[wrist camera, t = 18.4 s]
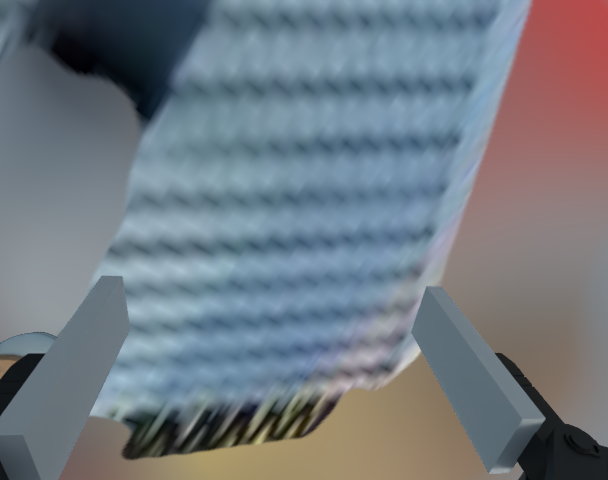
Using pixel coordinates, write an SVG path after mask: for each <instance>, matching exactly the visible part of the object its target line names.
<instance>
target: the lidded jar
mask: <svg viewBox="0 0 608 480" xmlns="http://www.w3.org/2000/svg"><path fill="white" fill-rule="evenodd" d="M56 339H57V337H55V336H53V335H51V334H48V333H44V332H33V333H27V334H21V335H17V336H14V337H12V338H9V339H7V340H5V341H3V342H2V343H0V379H1V378H2V376H3V375H4V374H5V373H6V371H7V370H8V369H9V368H10V366H12V365H13V364H14V363H16V362H17V361H18V360H20V359H21V358H23V357H24V356H25V355H27V354H28V353H46V352H47V351H48V350H49V348H50V347H51V346H52V344H53V343H54V341H55V340H56Z"/></svg>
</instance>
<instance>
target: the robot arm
mask: <svg viewBox="0 0 608 480" xmlns="http://www.w3.org/2000/svg"><path fill="white" fill-rule="evenodd" d="M129 330H130V324H129V317H128V311H127V304H126V297H125V290H124V284H123V277H122V276H102V277H101V278H100V279H99V281H98V282H97V283H96V285H95V286H94V288H93V289H92V290H91V292H90V293H89V294H88V296H87V297H86V299H85V300H84V301H83V303H82V304H81V306H80V307H79V308H78V310H77V311H76V312H75V314H74V315H73V317H72V318H71V319H70V321H69V322H68V323H67V325H66V326H65V328H64V329H63V330H62V332H61V333H60V334H59V336H58V337H57V339H56V340H55V341H54V343H53V344H52V346H51V347H50V348H49V350H48V351H47V352H46V353H28V354H27V355H25V356H24V357H23V358H21V359H20V360H18V361H17V362H16V363H14V364H13V365H12V366H10V368H9V369H8V370H7V371H6V373H5V374H4V375H3V376H2V378H1V379H0V480H58V478H59V477H60V474H61V472H62V470H63V468H64V466H65V464H66V462H67V460H68V458H69V456H70V454H71V451H72V449H73V447H74V445H75V443H76V441H77V439H78V437H79V435H80V433H81V431H82V428H83V426H84V424H85V422H86V420H87V418H88V416H89V414H90V412H91V410H92V408H93V406H94V403H95V401H96V399H97V397H98V395H99V393H100V391H101V389H102V387H103V385H104V383H105V381H106V378H107V376H108V374H109V372H110V370H111V368H112V366H113V364H114V362H115V360H116V358H117V355H118V353H119V351H120V349H121V347H122V345H123V343H124V341H125V339H126V337H127V335H128V333H129ZM411 333H412V334H413V336H414V338H415V340H416V342H417V344H418V345H419V347H420V349H421V351H422V353H423V354H424V356H425V358H426V360H427V362H428V364H429V365H430V367H431V369H432V371H433V373H434V375H435V376H436V378H437V380H438V382H439V384H440V385H441V387H442V389H443V391H444V393H445V394H446V396H447V398H448V400H449V402H450V404H451V406H452V407H453V409H454V411H455V413H456V415H457V416H458V418H459V420H460V422H461V424H462V426H463V427H464V429H465V431H466V433H467V435H468V436H469V438H470V440H471V442H472V444H473V446H474V448H475V449H476V451H477V453H478V455H479V456H480V459H481V460H482V462H483V464H484V466H485V468H486V469H487V471H488V473H489V474H491V473H508V472H510V471H511V470H512V468H513V467H514V465H515V464H516V462H518V463H519V465H520V466H521V468H522V469H523V471H524V472H523V474H522V475H521V477H520V478H519V479H518V480H608V447H604V446H601V445H599V444H598V443H597V442H596V441H595V440H594V439H593V438H592V437H591V436H590V435H588V434H587V433H586V432H584V431H582V430H581V429H579V428H577V427H574V426H572V425H569V424H565V423H564V422H563V421H562V420H561V419H560V418H559V416H558V415H557V414H556V413H555V412H554V411H553V409H552V408H551V407H550V406H549V404H548V403H547V402H546V401H545V400H544V399H543V397H542V396H541V395H540V394H539V392H538V391H537V390H536V389H535V388H534V387H532V384H531V383H530V382H529V380H528V379H527V378H526V377H524V375H523V373H522V372H521V371H520V369H519V368H518V367H517V366H516V365H515V363H513V362H512V361H511V360H510V359H508V358H507V357H506V356H504V355H503V354H501V353H494V352H493V351H492V350H491V348H490V347H489V346H488V345H487V343H486V342H485V341H484V340H483V338H482V337H481V336H480V335H479V333H478V332H477V331H476V330H475V328H474V327H473V326H472V324H471V323H470V322H469V321H468V319H467V318H466V317H465V316H464V314H463V313H462V312H461V310H460V309H459V308H458V307H457V305H456V304H455V303H454V302H453V300H452V299H451V298H450V297H449V295H448V294H447V293H446V291H445V290H444V289H443V288H442V287H429V286H427V287H426V290H425V293H424V295H423V298H422V301H421V304H420V307H419V310H418V313H417V316H416V319H415V322H414V325H413V328H412V331H411Z"/></svg>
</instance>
